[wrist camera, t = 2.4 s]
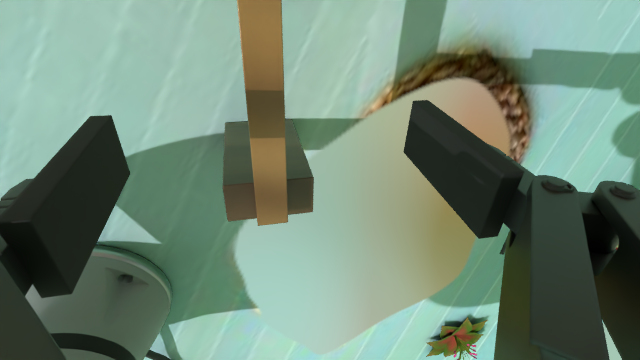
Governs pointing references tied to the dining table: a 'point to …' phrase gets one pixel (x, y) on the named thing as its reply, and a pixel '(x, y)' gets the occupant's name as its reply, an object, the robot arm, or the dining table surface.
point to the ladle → (265, 104)
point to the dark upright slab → (241, 173)
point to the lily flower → (457, 339)
